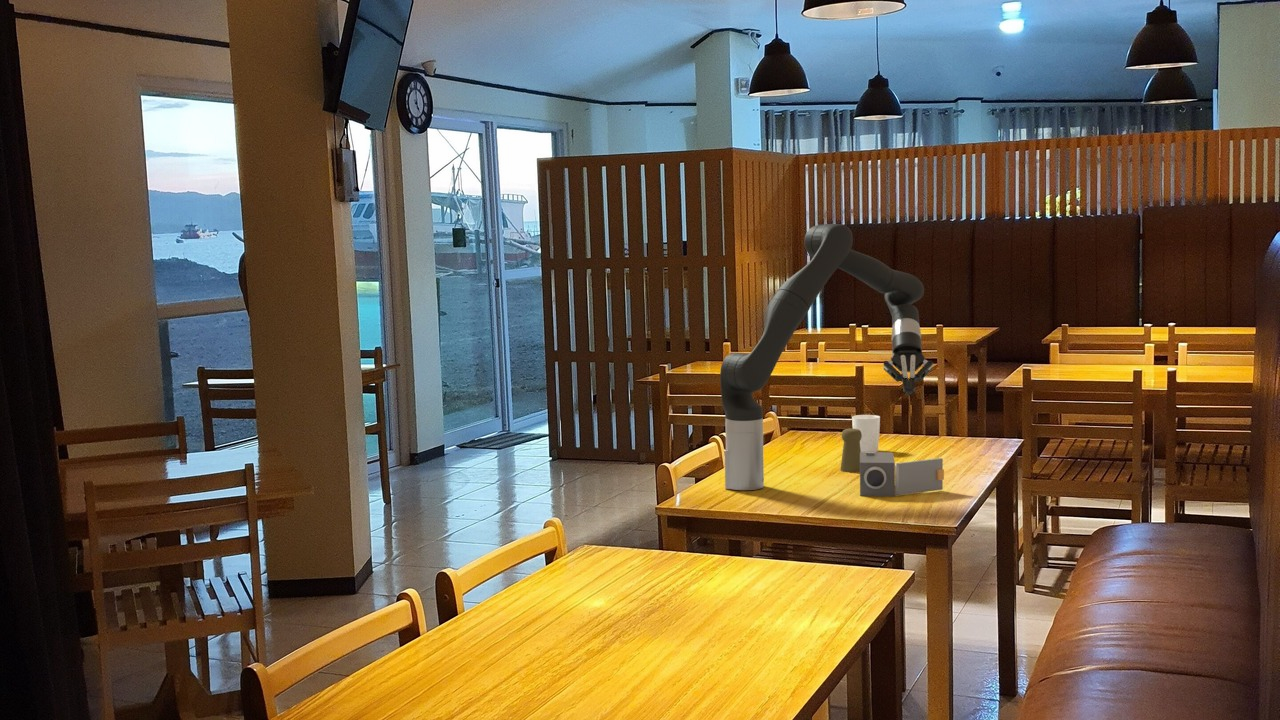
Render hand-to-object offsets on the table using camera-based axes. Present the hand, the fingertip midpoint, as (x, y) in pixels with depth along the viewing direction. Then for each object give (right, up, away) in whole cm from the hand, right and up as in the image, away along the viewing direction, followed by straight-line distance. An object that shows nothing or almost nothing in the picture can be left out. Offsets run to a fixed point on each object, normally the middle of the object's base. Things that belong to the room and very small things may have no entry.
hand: (909, 392), depth 300 cm
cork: (-12, -21, +13) cm, 27 cm away
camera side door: (-2, -23, -19) cm, 30 cm away
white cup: (-3, -18, +40) cm, 44 cm away
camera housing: (-11, -23, -13) cm, 29 cm away
